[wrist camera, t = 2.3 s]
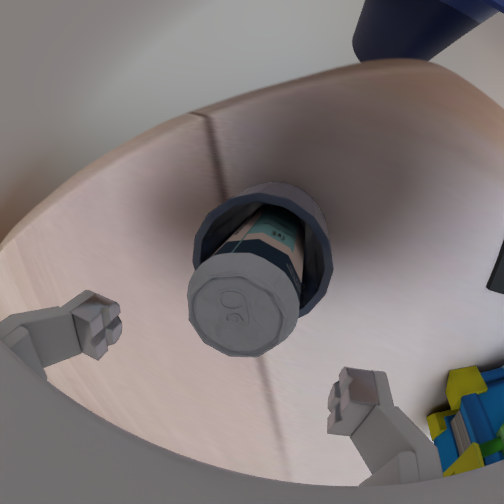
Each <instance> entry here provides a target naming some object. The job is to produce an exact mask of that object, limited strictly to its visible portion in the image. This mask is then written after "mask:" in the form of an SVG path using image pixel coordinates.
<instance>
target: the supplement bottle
mask: <svg viewBox="0 0 504 504" xmlns="http://www.w3.org/2000/svg"><path fill="white" fill-rule="evenodd" d="M304 245H305V229H304V226H303V224H302V221H301V220H300V218H299V217H298V216H297V215H295V214H294V213H292V212H291V211H290V210H288V209H287V208H285V207H281V206H276V205H267V206H262V207H260V208H258V209H256V210H255V211H254V212H253V213H252V214H251V215H250V216H249V217H248V218H247V220H246V221H245V222H244V223H243V224H242V225H241V226H240V227H239V228H238V229H237V230H236V231H235V232H234V233H233V234H232V235H231V236H230V237H229V239H228V240H227V241H226V242H225V243H224V244H223V245H222V246H221V247H220V248H219V249H218V250H217V251H216V252H215V253H214V254H213V255H212V256H211V257H210V258H209V259H208V260H206V261H205V262H203V263H202V264H201V265H200V266H199V267H198V268H197V270H196V271H195V272H194V273H193V275H192V277H191V280H190V282H189V286H188V293H187V298H188V308H189V321H190V322H191V324H192V325H193V327H194V329H195V330H196V332H197V333H198V335H199V336H200V338H201V339H202V341H203V342H204V343H206V344H207V345H209V346H211V347H213V348H215V349H216V350H218V351H220V352H222V353H224V354H226V355H228V356H232V357H259V356H260V355H262V354H264V353H265V352H267V351H269V350H270V349H272V348H273V347H275V346H277V345H278V344H280V343H281V342H282V341H284V340H285V339H286V338H287V337H288V336H289V335H290V334H291V332H292V331H293V329H294V328H295V326H296V323H297V320H298V316H299V304H300V293H301V283H302V271H303V259H304Z"/></svg>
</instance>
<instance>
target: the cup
mask: <svg viewBox="0 0 504 504" xmlns="http://www.w3.org/2000/svg"><path fill="white" fill-rule="evenodd" d="M267 205H276V206H281V207H285V208H287V209H288V210H290V211H291V212H292V213H294V214H295V215H297V216H298V217H299V218H300V220H301V221H302V224H303V226H304V229H305V245H304V259H303V271H302V283H301V293H300V304H299V316H298V318H300V317H302V316H304V315H306V314H308V313H309V312H310V311H311V310H312V309H313V308H314V307H315V306H316V304H317V303H318V302H319V301H320V300H321V299H322V298H323V297H324V296H325V294H326V291H327V288H328V285H329V282H330V279H331V276H332V273H333V261H332V252H331V245H330V240H329V235H328V231H327V226H326V222H325V218H324V215H323V213H322V212H321V210H320V208H319V206H318V205H317V204H316V202H315V201H314V199H313V198H312V197H311V196H309V195H308V194H307V193H306V192H305V191H303V190H301V189H300V188H298V187H296V186H294V185H290V184H287V183H281V182H268V183H262V184H258V185H254V186H252V187H250V188H248V189H246V190H244V191H242V192H241V193H239V194H237V195H235V196H233V197H231V198H229V199H228V200H226V201H225V202H224V203H222V204H221V205H219V206H218V207H217V208H215V209H214V210H213V211H211V212H210V213H208V215H207V216H206V218H205V220H204V221H203V223H202V225H201V227H200V228H199V230H198V232H197V234H196V236H195V241H194V251H193V265H194V268H195V271H196V270H197V268H198V267H199V266H200V265H201V264H202V263H203V262H205V261H206V260H208V259H209V258H210V257H211V256H212V255H213V254H214V253H215V252H216V251H217V250H218V249H219V248H220V247H221V246H222V245H223V244H224V243H225V242H226V241H227V240H228V239H229V237H230V236H231V235H232V234H233V233H234V232H235V231H236V230H237V229H238V228H239V227H240V226H241V225H242V224H243V223H244V222H245V221H246V220H247V218H248V217H249V216H250V215H251V214H252V213H253V212H254V211H255V210H256V209H258V208H260V207H262V206H267Z"/></svg>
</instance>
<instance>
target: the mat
mask: <svg viewBox="0 0 504 504" xmlns="http://www.w3.org/2000/svg"><path fill="white" fill-rule="evenodd" d="M487 288H488V289H489V290H491V291H495V292H498V293H501V294H504V242H503V245H502V248H501V251H500V254H499V257H498V259H497V262H496V265H495V267H494V270H493V273H492V275H491V277H490V280H489V282H488V285H487Z"/></svg>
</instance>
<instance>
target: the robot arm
mask: <svg viewBox="0 0 504 504" xmlns="http://www.w3.org/2000/svg"><path fill="white" fill-rule="evenodd" d="M120 313H121V312H120V305H119V304H118V303H117V302H115V301H113V300H110V299H108V298H106V297H104V296H101V295H99V294H97V293H94V292H92V291H90V290H85V291H83V292H82V293H81V294H79V295H78V296H76V297H75V298H73V299H72V300H70V301H69V302H68V303H66V304H65V305H63V306H62V307H61V308H60V307H59V306H57V307H51V308H46V309H40V310H35V311H29V312H24V313H18V314H12V315H10V316H8V317H7V318H5V319H4V320H3V321H1V322H0V504H504V460H501V461H498V462H496V463H493V464H490V465H487V466H484V467H481V468H478V469H474V470H471V471H467V472H463V473H460V474H456V475H451V476H447V477H443V472H442V467H441V462H440V458H439V453H438V449H437V447H436V446H435V445H434V444H433V443H432V442H431V441H430V440H429V439H428V438H427V437H426V436H425V434H424V433H423V432H422V431H421V430H420V429H419V428H418V427H417V426H416V425H415V424H414V423H413V422H412V421H411V420H410V419H409V418H408V417H407V416H406V415H405V414H404V413H403V412H402V411H401V410H400V409H399V407H396V406H394V404H393V400H392V395H391V391H390V387H389V383H388V379H387V375H386V373H385V372H382V371H373V370H371V371H370V370H363V369H356V368H350V367H344V368H343V369H342V370H341V372H340V374H339V381H338V382H336V383H334V385H333V387H332V389H331V391H330V394H329V398H328V409H329V411H330V412H331V414H330V415H329V417H328V422H327V433H328V434H335V435H344V436H351V437H350V438H351V440H352V441H353V443H354V445H355V446H356V448H357V450H358V451H359V453H360V455H361V456H362V458H363V460H364V461H365V463H366V465H367V466H368V468H369V470H370V471H371V473H372V475H371V476H370V477H369V478H367V479H366V480H365V481H363V482H362V483H361V484H360V485H359V486H324V485H311V484H301V483H293V482H286V481H279V480H273V479H267V478H262V477H257V476H252V475H248V474H243V473H239V472H235V471H231V470H227V469H224V468H220V467H217V466H213V465H210V464H207V463H203V462H200V461H197V460H194V459H191V458H189V457H186V456H183V455H180V454H178V453H175V452H172V451H170V450H167V449H165V448H163V447H160V446H158V445H155V444H153V443H151V442H149V441H146V440H144V439H142V438H140V437H138V436H136V435H134V434H132V433H130V432H128V431H126V430H124V429H122V428H120V427H118V426H116V425H114V424H112V423H111V422H109V421H107V420H105V419H103V418H102V417H100V416H98V415H97V414H95V413H93V412H92V411H90V410H88V409H87V408H85V407H84V406H82V405H81V404H79V403H77V402H76V401H74V400H73V399H71V398H70V397H69V396H67V395H66V394H64V393H63V392H61V391H60V390H59V389H57V388H56V387H55V386H53V385H52V384H51V383H49V382H48V381H47V375H46V373H45V370H44V367H47V366H50V365H52V364H55V363H58V362H60V361H63V360H66V359H68V358H71V357H73V356H76V355H78V354H81V353H84V354H86V355H88V356H90V357H92V358H94V359H96V360H98V361H99V359H100V358H101V357H102V356H103V355H104V354H105V353H106V352H107V351H108V346H109V345H112V344H115V343H116V342H117V341H118V340H119V337H120V335H121V333H122V322H121V320H120V318H119V317H118V315H119V314H120Z"/></svg>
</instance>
